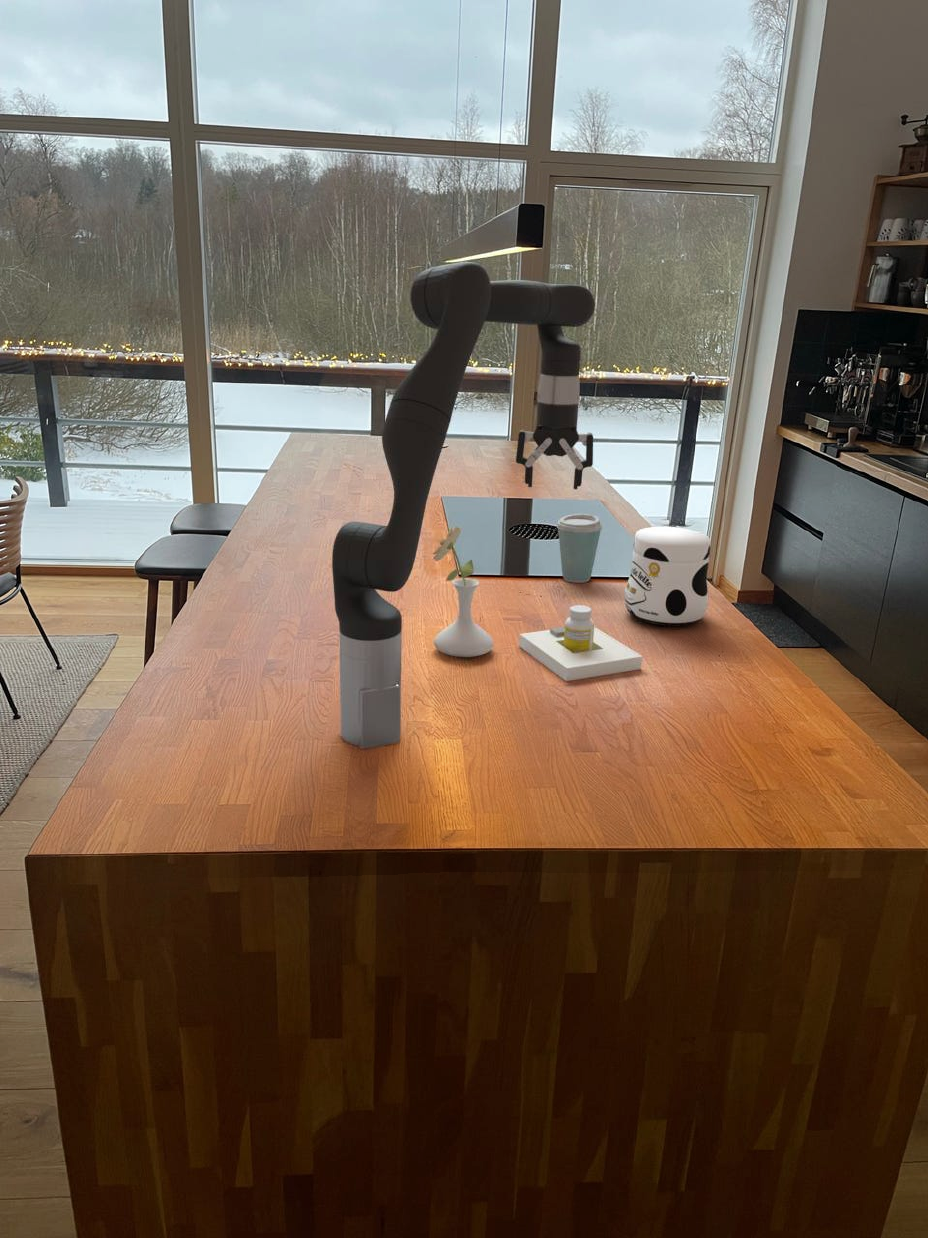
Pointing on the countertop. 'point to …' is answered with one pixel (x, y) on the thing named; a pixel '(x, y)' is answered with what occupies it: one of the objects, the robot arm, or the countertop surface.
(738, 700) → the countertop surface
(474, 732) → the countertop surface
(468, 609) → the flower in vase
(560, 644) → the socket plate
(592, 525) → the disposable coffee cup
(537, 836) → the countertop surface
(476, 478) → the countertop surface
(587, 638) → the supplement bottle
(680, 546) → the milk container
